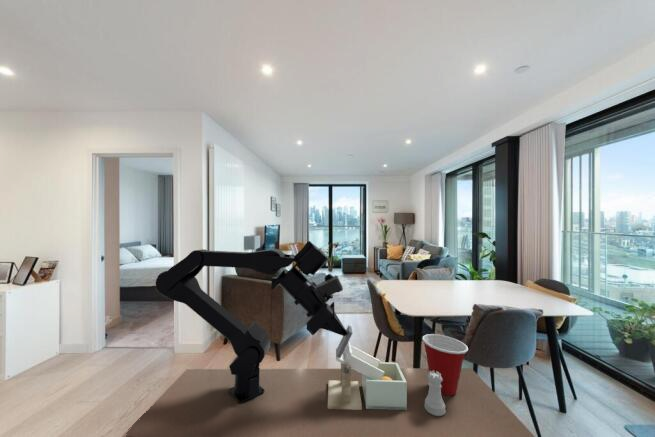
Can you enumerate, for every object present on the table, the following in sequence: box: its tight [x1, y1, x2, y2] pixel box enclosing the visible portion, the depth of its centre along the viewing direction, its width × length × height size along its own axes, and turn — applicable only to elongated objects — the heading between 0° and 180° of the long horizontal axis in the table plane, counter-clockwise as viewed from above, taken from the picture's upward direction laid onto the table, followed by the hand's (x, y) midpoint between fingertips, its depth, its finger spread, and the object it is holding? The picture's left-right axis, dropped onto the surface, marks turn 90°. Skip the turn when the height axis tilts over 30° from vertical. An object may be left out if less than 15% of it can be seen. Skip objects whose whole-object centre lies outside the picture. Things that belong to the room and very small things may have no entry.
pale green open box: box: [361, 361, 408, 411], centre depth 64 cm, size 9×9×6 cm
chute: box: [335, 324, 384, 380], centre depth 65 cm, size 11×6×7 cm, turn 87°
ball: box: [381, 376, 392, 380], centre depth 64 cm, size 4×4×4 cm
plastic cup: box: [422, 333, 469, 396], centre depth 68 cm, size 11×11×12 cm
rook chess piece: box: [424, 370, 446, 417], centre depth 60 cm, size 4×4×8 cm
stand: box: [327, 363, 363, 411], centre depth 65 cm, size 8×10×9 cm
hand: (345, 334), depth 65 cm, fingers closed, pressing on chute
